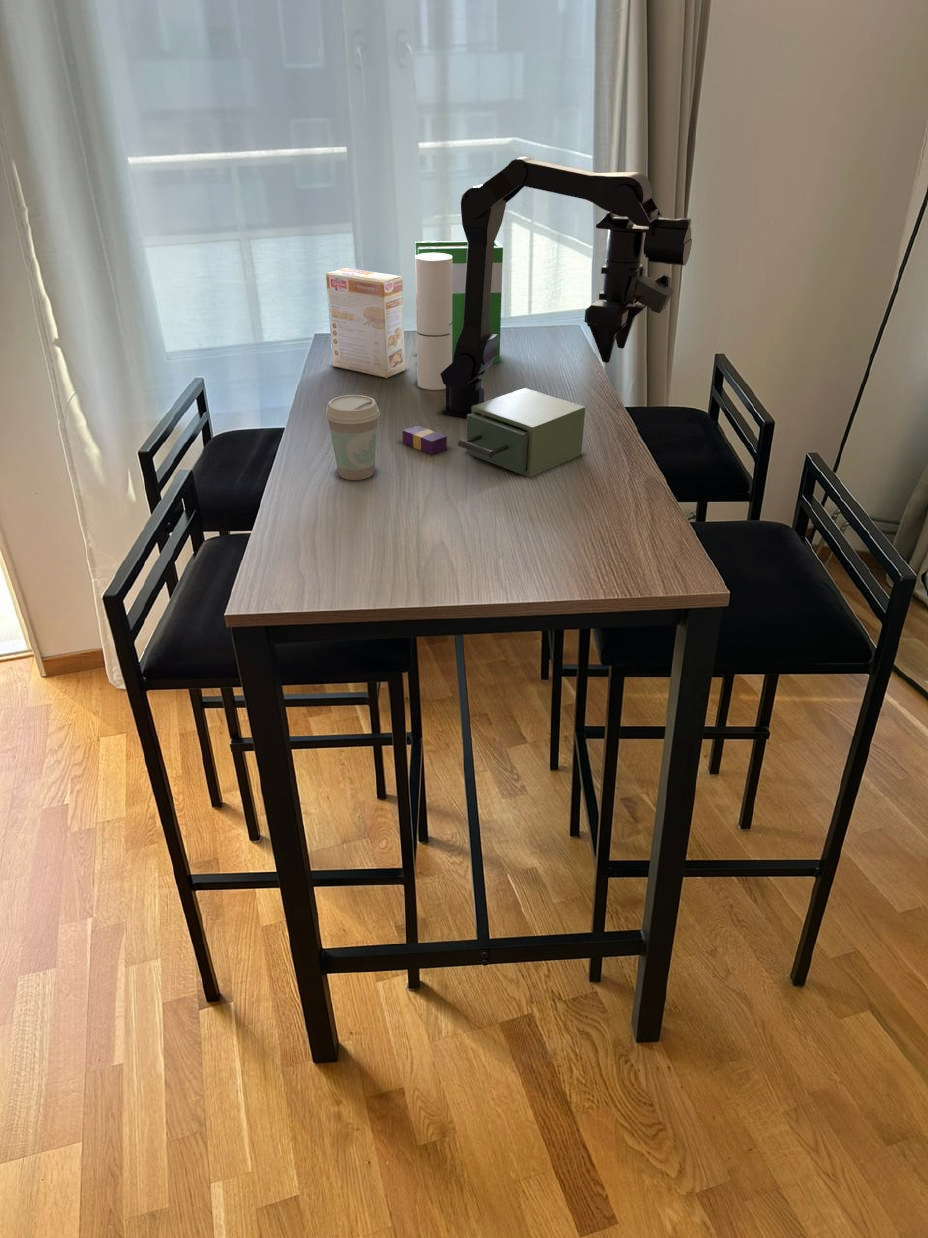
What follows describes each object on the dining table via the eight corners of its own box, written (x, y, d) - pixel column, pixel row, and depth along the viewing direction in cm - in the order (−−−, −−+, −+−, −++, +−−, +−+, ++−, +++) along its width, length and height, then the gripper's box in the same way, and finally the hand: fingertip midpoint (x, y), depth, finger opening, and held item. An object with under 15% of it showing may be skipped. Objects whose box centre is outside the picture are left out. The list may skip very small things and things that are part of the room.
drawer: (501, 483, 142) (502, 442, 138) (446, 460, 149) (446, 421, 145) (569, 453, 152) (572, 415, 148) (514, 433, 159) (516, 396, 156)
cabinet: (530, 477, 146) (533, 427, 141) (470, 454, 154) (471, 406, 149) (581, 454, 154) (585, 406, 149) (522, 433, 162) (524, 387, 157)
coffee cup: (341, 487, 142) (336, 415, 135) (322, 468, 148) (317, 398, 141) (390, 477, 145) (387, 406, 138) (370, 459, 151) (366, 390, 145)
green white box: (420, 364, 195) (418, 248, 182) (417, 354, 201) (415, 241, 188) (499, 362, 197) (503, 247, 184) (494, 352, 203) (497, 240, 190)
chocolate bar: (447, 449, 155) (447, 435, 154) (431, 454, 153) (431, 441, 152) (417, 437, 160) (417, 424, 158) (402, 443, 158) (402, 429, 156)
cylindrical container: (456, 380, 186) (457, 254, 173) (445, 391, 181) (444, 261, 167) (425, 376, 188) (423, 251, 174) (412, 387, 182) (409, 258, 169)
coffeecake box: (406, 370, 192) (403, 275, 181) (386, 378, 187) (382, 282, 176) (351, 358, 199) (346, 266, 188) (331, 366, 194) (324, 272, 183)
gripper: (657, 275, 135) (645, 377, 144) (685, 253, 149) (672, 346, 158) (587, 268, 139) (579, 367, 147) (620, 247, 153) (611, 338, 162)
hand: (613, 354), depth 153 cm, fingers open, 9 cm apart
